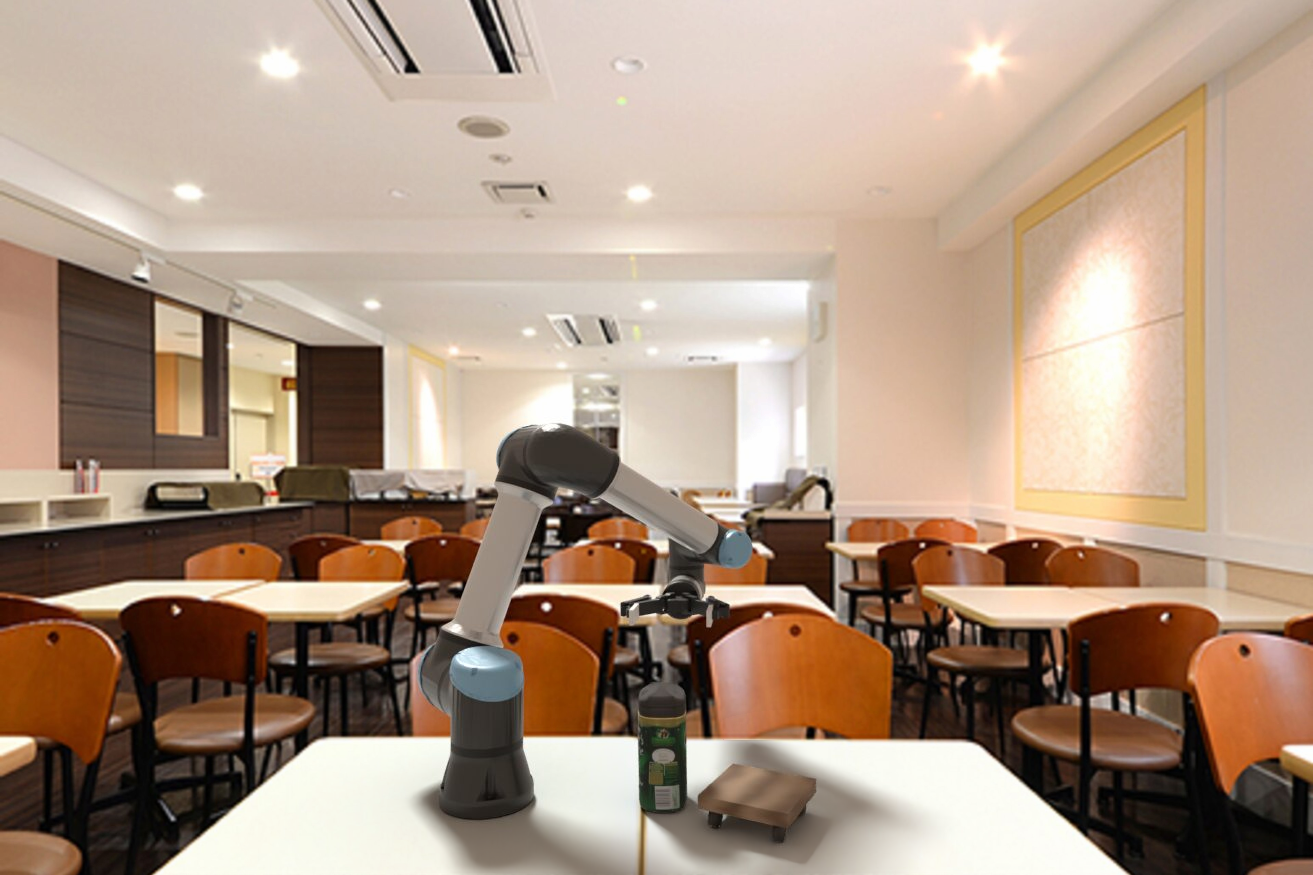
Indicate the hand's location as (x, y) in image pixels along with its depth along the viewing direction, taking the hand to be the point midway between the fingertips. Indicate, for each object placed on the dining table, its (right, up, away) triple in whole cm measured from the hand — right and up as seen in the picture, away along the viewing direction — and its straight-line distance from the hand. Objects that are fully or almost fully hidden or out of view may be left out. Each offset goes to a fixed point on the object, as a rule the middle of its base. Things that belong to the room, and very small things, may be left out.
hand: (669, 618), depth 138 cm
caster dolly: (+13, -27, -17) cm, 35 cm away
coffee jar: (-1, -27, -10) cm, 29 cm away
